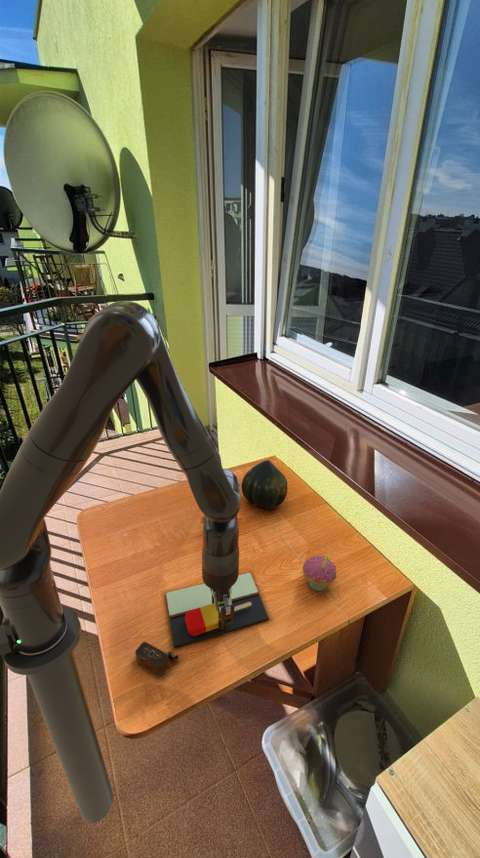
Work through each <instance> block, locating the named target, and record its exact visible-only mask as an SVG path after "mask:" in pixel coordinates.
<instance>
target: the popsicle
mask: <svg viewBox="0 0 480 858" xmlns="http://www.w3.org/2000/svg"><path fill="white" fill-rule="evenodd" d="M221 603H223V602H218V604H221ZM251 605H252V603H251V602H248V603H245V604H242V605H239V606H236V607H235V609H234V611H237V610H240V609H243V608H246V607H249V606H251ZM185 622H186V626H187V630H188V633H189V634H190V635H191V636H196V635H199V634H202V633H205V632H208V631H211V630H213V629H216V628H218V611H217V610H216V609H215V604H214V603H212V604H209V605H206V606H203V607H200V608H197V609H193V610H190V611H188V612H187V613H186V614H185ZM229 624H230V623H229Z"/></svg>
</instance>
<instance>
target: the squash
mask: <svg viewBox="0 0 480 858" xmlns="http://www.w3.org/2000/svg"><path fill="white" fill-rule="evenodd" d="M240 489H241V493H242V495H243V497H244V498H245V499H246V500H247V502H248V504H249V505H252V506H254V505H255V506H256V507H263V509H264V510H266V511H272V510H273V509H274V508H275V507H278V506H281V505H282V504H283V503H284V501H285V499H286V497H287V494H288V480H287V477H286V476H285V475H284V474H283V473H282V471H281V470H280V469H279V468H278V467H277V466H276V465H275V464H274V463H273V461H271V460H270V459H267V460H263V461H261V462H259V463H257V464H256V465H253V466H252V467H251V468H250V469H248V471H247V472H245V474H244V476H243V478H242V481H241V483H240Z"/></svg>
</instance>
